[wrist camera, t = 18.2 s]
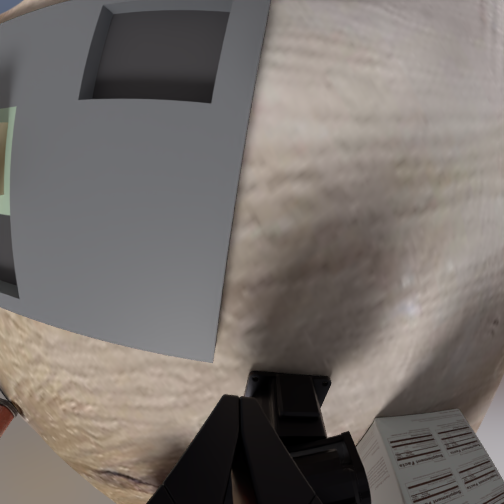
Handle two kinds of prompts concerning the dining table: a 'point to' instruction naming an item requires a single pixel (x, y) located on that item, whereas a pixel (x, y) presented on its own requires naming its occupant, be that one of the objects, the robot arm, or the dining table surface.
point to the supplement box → (428, 461)
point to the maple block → (2, 153)
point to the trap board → (125, 165)
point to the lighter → (6, 414)
